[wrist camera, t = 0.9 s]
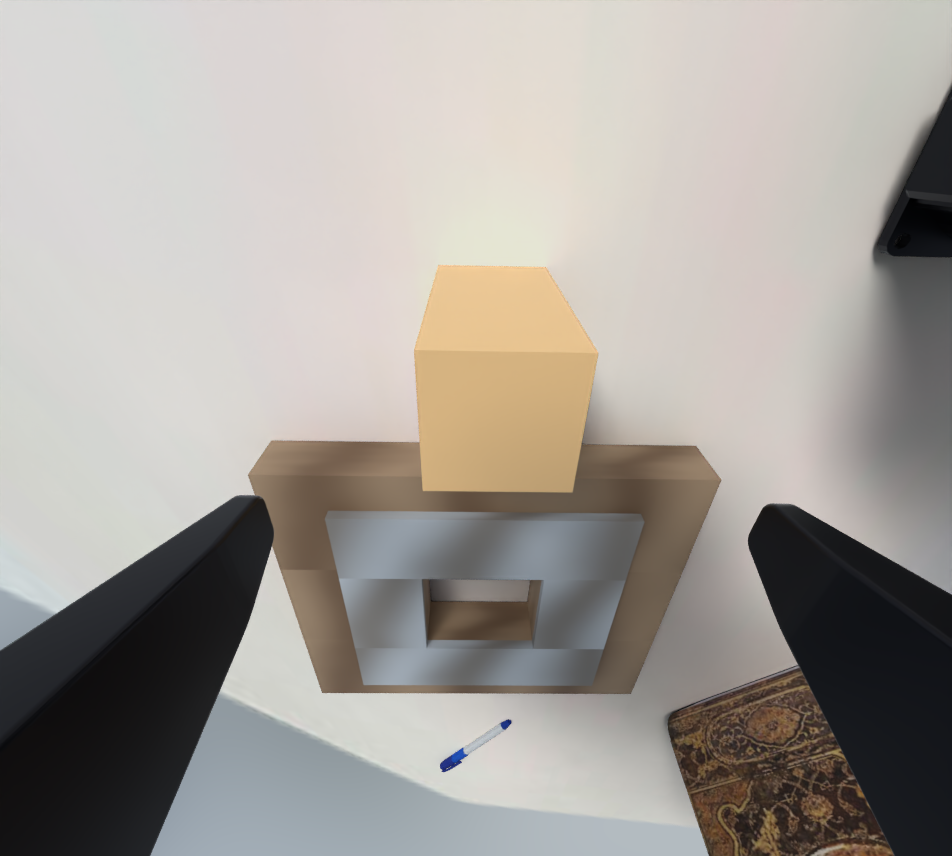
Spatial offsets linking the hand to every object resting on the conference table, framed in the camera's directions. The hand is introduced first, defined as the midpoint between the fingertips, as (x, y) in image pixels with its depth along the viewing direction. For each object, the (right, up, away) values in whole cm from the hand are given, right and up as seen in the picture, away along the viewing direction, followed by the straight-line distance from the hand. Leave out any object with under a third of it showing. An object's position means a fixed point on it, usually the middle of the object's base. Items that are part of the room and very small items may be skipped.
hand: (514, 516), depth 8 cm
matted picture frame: (0, -7, +17) cm, 19 cm away
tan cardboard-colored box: (0, +6, +9) cm, 11 cm away
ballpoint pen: (-1, -26, +30) cm, 40 cm away
